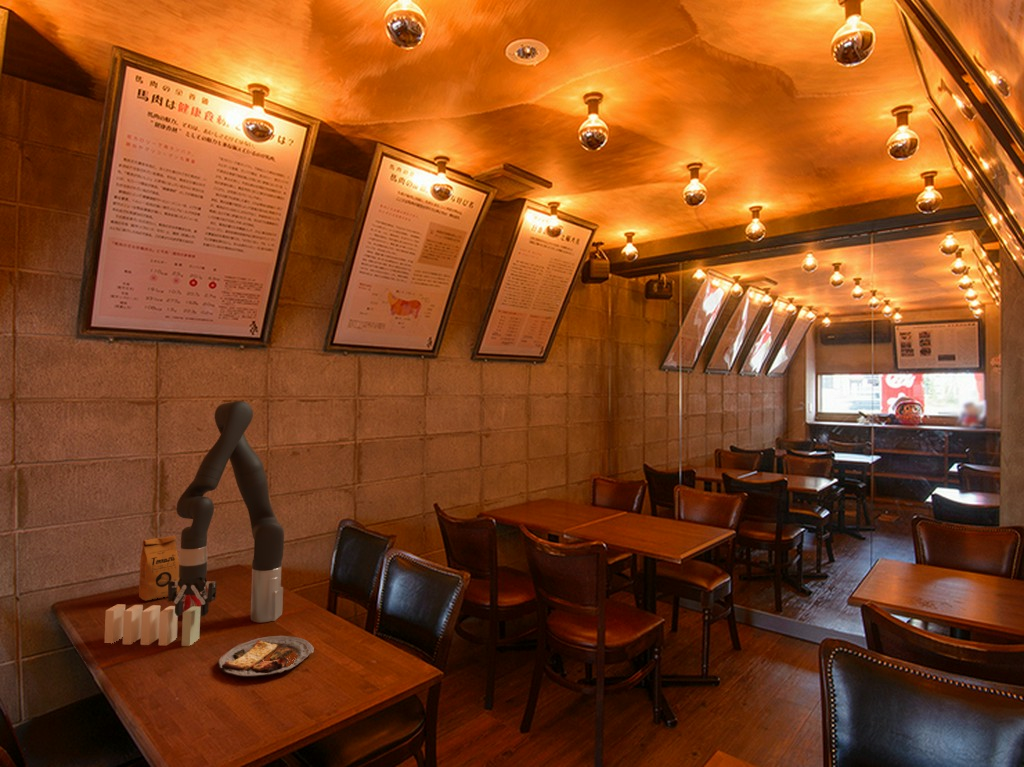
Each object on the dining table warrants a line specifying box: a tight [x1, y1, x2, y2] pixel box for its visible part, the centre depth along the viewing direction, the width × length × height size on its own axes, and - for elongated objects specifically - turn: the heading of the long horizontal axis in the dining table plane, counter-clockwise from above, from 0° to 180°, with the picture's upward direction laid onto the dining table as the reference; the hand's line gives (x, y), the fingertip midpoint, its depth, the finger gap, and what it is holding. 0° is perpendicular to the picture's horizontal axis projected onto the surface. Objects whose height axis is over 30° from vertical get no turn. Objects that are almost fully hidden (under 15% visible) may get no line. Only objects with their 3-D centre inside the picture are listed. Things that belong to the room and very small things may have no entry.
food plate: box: [217, 635, 315, 678], centre depth 161 cm, size 25×23×4 cm
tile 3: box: [140, 604, 162, 646], centre depth 171 cm, size 2×5×10 cm, turn 0°
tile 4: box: [158, 605, 179, 647], centre depth 171 cm, size 2×5×10 cm, turn 179°
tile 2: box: [122, 604, 144, 645], centre depth 171 cm, size 2×5×10 cm, turn 0°
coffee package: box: [138, 535, 181, 602], centre depth 207 cm, size 10×12×22 cm
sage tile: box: [181, 606, 201, 647], centre depth 171 cm, size 2×5×10 cm, turn 179°
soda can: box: [181, 586, 206, 617], centre depth 191 cm, size 7×7×12 cm
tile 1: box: [104, 603, 126, 645], centre depth 171 cm, size 2×5×10 cm, turn 179°
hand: (191, 615), depth 171 cm, fingers open, 7 cm apart
